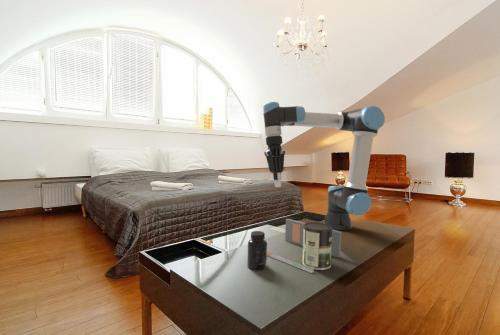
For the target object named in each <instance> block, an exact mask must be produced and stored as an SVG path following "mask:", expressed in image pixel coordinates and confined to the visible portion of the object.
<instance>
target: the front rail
mask: <svg viewBox="0 0 500 335" xmlns="http://www.w3.org/2000/svg"><path fill="white" fill-rule="evenodd" d="M267 257H270V258H273V259H275V260H277V261H280V262H283V263H284V264H287V265H289V266H292V267H295V268H296V269H297V268H298V269H300V270H303V271H304V272H307V273H309V274H314V273H315V269H311V268H309V267H306V266H304V265H303V264H301V263H298V262H295V261H293V260H290V259H288V258H286V257H282V256H280V255H279V254H274V253H272V252H269V251H267Z"/></svg>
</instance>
